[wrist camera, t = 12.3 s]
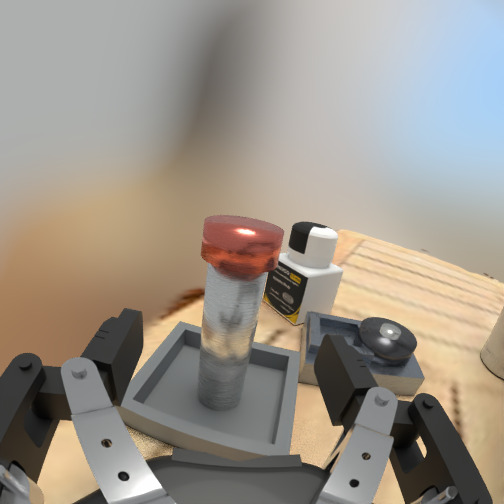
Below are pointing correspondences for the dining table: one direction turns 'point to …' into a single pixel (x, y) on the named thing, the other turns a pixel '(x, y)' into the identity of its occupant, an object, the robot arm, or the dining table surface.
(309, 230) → the medicine bottle
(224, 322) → the pin
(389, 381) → the tensioner block
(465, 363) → the dining table surface
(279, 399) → the tray
